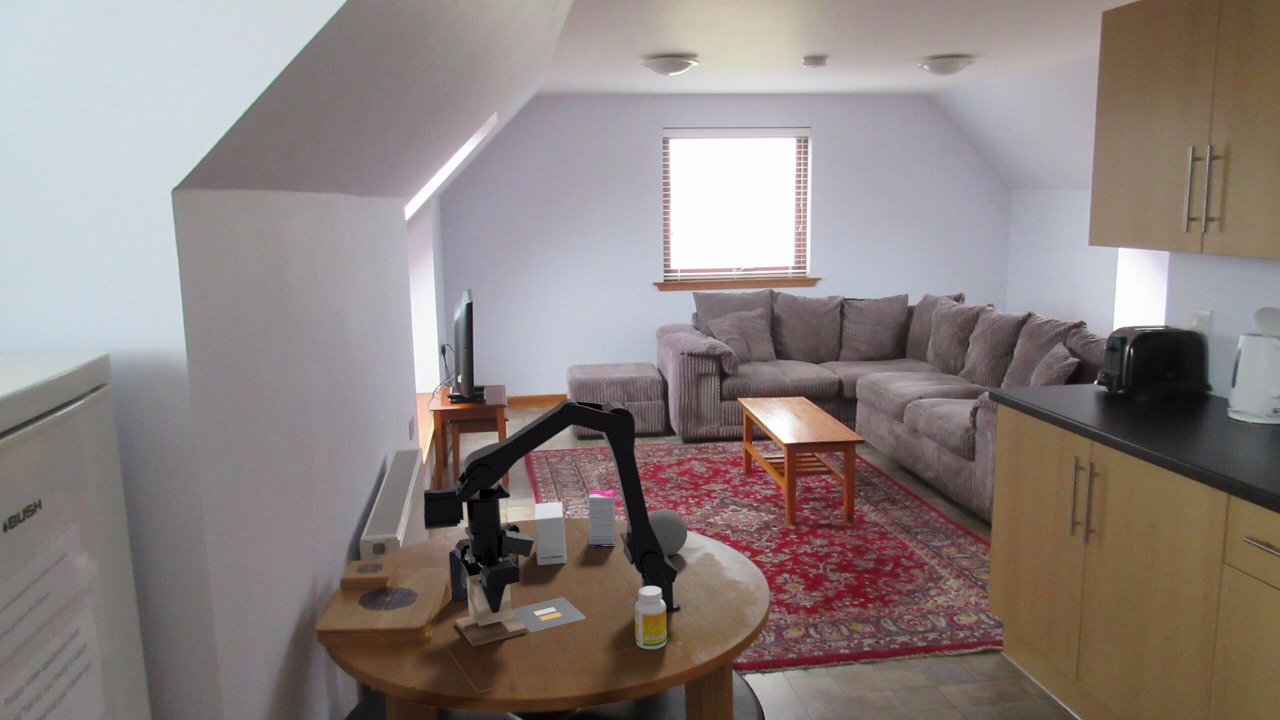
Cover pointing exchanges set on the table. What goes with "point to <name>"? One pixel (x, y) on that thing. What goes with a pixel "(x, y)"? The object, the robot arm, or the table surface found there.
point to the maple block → (486, 603)
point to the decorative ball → (668, 530)
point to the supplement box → (601, 517)
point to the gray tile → (547, 614)
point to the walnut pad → (490, 630)
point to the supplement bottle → (650, 618)
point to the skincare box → (550, 533)
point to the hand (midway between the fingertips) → (489, 605)
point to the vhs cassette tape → (461, 575)
